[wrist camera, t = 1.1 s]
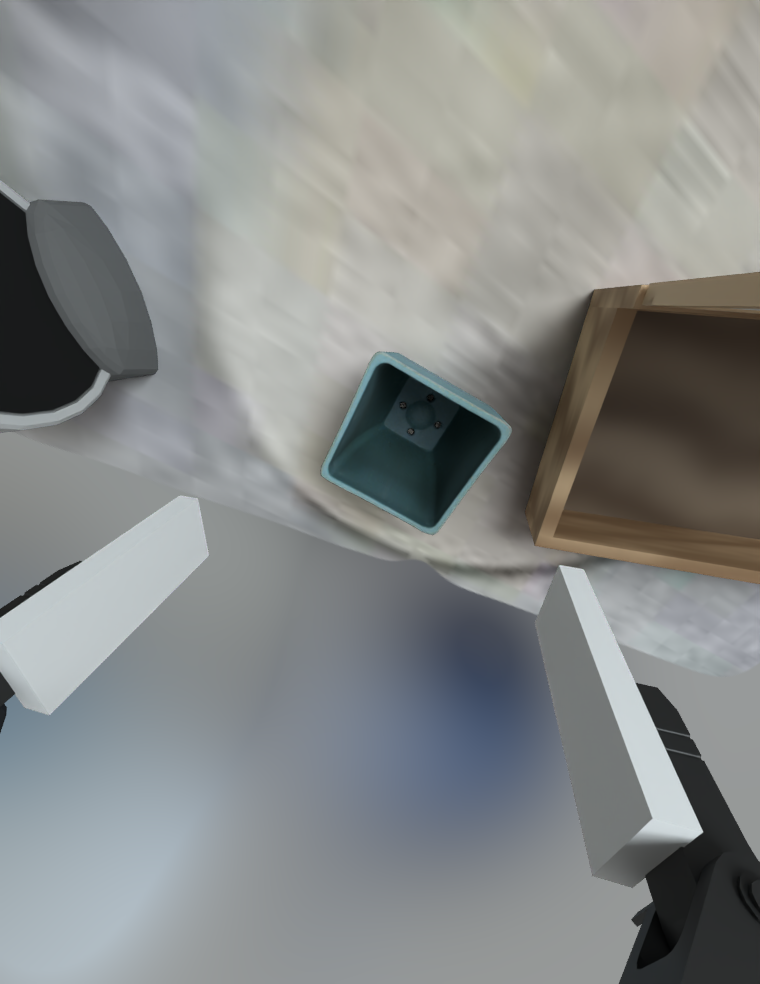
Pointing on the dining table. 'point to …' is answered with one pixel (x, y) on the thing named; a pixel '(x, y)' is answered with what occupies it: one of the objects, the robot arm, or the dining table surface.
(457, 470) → the flower pot
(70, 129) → the dining table surface
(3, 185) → the alarm clock
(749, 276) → the lid
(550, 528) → the cold frame
